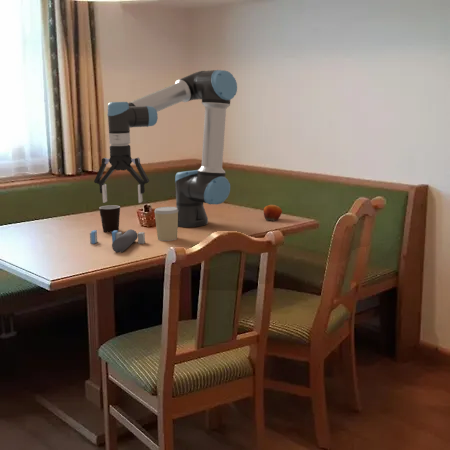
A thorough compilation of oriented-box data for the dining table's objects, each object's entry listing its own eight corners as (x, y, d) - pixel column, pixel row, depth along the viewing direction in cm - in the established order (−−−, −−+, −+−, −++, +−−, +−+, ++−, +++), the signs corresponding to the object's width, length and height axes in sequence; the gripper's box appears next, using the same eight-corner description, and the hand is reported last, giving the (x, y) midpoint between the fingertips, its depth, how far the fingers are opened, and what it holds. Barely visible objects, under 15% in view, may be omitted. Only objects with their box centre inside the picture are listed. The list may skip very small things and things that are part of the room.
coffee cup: (182, 236, 266) (181, 206, 263) (175, 241, 257) (174, 211, 254) (159, 235, 268) (158, 206, 265) (152, 241, 259) (151, 210, 256)
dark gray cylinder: (138, 241, 259) (136, 229, 258) (126, 252, 242) (124, 239, 241) (125, 242, 259) (124, 229, 258) (112, 253, 243) (111, 240, 242)
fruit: (259, 218, 289) (262, 201, 291) (264, 224, 296) (267, 208, 298) (277, 220, 286) (280, 202, 288) (282, 226, 293) (284, 209, 295)
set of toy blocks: (144, 242, 257) (144, 230, 256) (142, 244, 254) (142, 232, 253) (92, 241, 260) (91, 230, 259) (89, 243, 257) (89, 231, 256)
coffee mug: (117, 233, 274) (115, 209, 272) (97, 232, 276) (95, 208, 273) (126, 227, 285) (125, 204, 283) (107, 226, 287) (106, 203, 285)
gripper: (83, 145, 241) (87, 203, 246) (150, 145, 238) (152, 204, 242) (90, 144, 248) (93, 200, 253) (155, 143, 245) (157, 200, 249)
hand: (122, 202), depth 247 cm, fingers open, 13 cm apart
